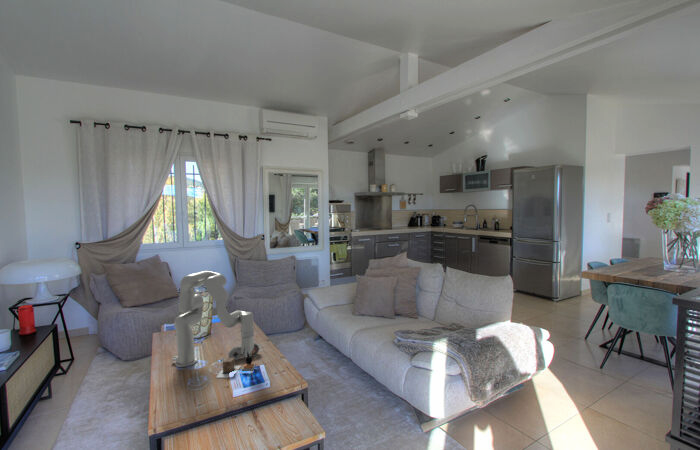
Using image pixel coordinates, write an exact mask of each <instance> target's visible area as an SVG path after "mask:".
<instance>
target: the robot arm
mask: <svg viewBox="0 0 700 450" xmlns="http://www.w3.org/2000/svg"><path fill="white" fill-rule="evenodd" d="M227 281H228V280H227V278H226V276H225V275H223V274H222V273H219V272H215V271H214V272H213V271H209V270H204V271H203V270H202V271H199V272H194V273H191V274H187V275H186V276H185V275H184V276H183V277H182V278H181V280H180V286H179V287H180V292H179V299H178V311H179V312H180V313H181V314H179V315H178V316H177V317H175V319H174V323H173V325H174V328H175V329H174V330H175V332H176V348H177V355H173V356H172V357H171V359H172V360H171V361H175V367H177V368H186V367H189V366H192V365H194V364H196V363H197V362H198V358H197V357H196V356H195V341H194V339H195V338H194V332H193V330H192V329H191V327H194V326H195V325H197V324H199V323H200V322H201V321H202V319H203V318H202V317H203V312H204V298H203V296H202V295H200V294H199V293H196V289H195V288H197V287H202V286H204V288H205V289H206V290H207V292H208V294H209V295H210V296H211V298H212V299H213V301H214V302H215V312H216V314H217V318H218V319H219V321H220V322H221V324H222V325H223V326H224V327H225V328H233V327H235V326H236V325H239V324H240V338H241V342H240V343H241V345H240V346H241V354H242V355H243V354H244V352H245V357H244V358H245V364H251V363H252V362H253V356H252V350H253V348H254V343H255V341H254V336H255V323H254V322H255V321H254V313H253V312H252V311H243V310H240V309H239V310H235V311H233V312H231V313H230V312H229V311H228V310H227V308H226V302H227V300H228V298H229V296H230V294H229V292H228V291H227V290H226V289H225V286H226V284H227Z"/></svg>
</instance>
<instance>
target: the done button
mask: <svg viewBox="0 0 700 450" xmlns="http://www.w3.org/2000/svg"><path fill="white" fill-rule="evenodd" d="M254 364H255V363H254V362H253V361H252V363H251V364H246V363H245V364H244V365H243V366H244V368H252V367H253V366H254Z"/></svg>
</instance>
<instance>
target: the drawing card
mask: <svg viewBox="0 0 700 450" xmlns="http://www.w3.org/2000/svg"><path fill="white" fill-rule="evenodd" d="M235 366H236V367H235ZM241 367H242V365H234V368H235V369H234V370H236V369H239V368H240V369H241ZM240 369H239V370H240ZM228 377H229V373H223V370H222V369H221V370H220V372H219V373H218V374H217V375H216V376H215V379H229V378H228Z"/></svg>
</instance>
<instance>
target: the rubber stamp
mask: <svg viewBox="0 0 700 450" xmlns="http://www.w3.org/2000/svg"><path fill="white" fill-rule="evenodd" d="M234 366H235V361H234V358H229V357H225V358H224V360H223V361H222V369H223V373H230V372H232V371H234V369H235V368H234Z"/></svg>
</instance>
